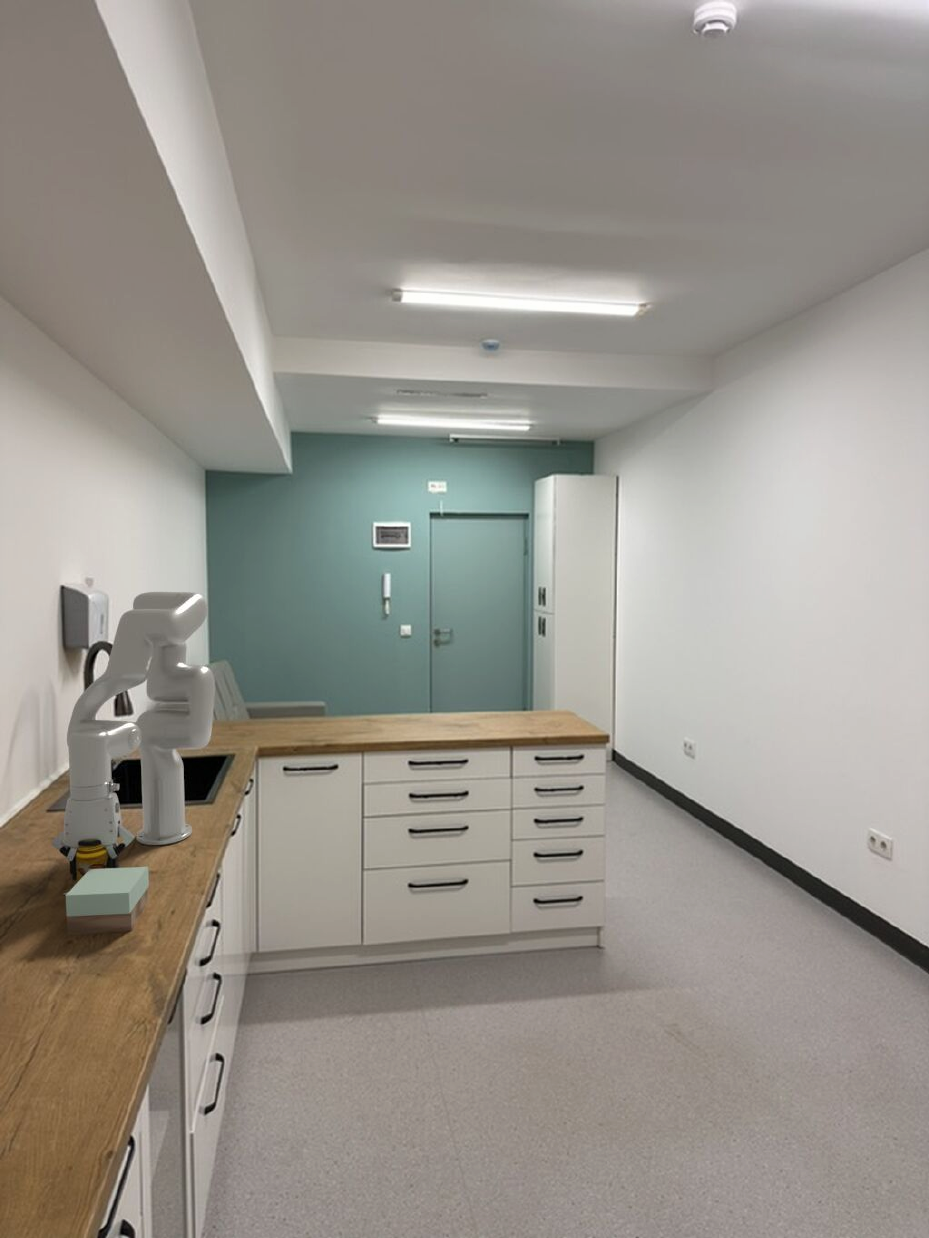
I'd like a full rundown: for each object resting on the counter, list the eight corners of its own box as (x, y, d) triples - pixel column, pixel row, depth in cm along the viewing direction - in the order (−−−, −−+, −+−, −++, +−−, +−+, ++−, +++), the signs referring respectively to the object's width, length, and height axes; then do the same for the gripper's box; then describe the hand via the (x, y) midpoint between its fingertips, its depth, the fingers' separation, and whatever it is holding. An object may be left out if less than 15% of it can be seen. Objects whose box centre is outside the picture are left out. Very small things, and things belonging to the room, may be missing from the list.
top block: (90, 888, 143) (89, 869, 143) (148, 886, 145) (148, 866, 144) (66, 916, 133) (65, 895, 132) (129, 913, 134) (128, 892, 133)
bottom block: (88, 908, 144) (87, 888, 143) (147, 904, 146) (146, 885, 145) (67, 937, 133) (66, 916, 133) (131, 932, 135) (131, 912, 134)
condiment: (88, 904, 144) (86, 846, 143) (62, 894, 148) (60, 837, 147) (121, 890, 151) (119, 833, 150) (95, 880, 155) (93, 826, 154)
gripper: (141, 782, 153) (144, 865, 154) (52, 786, 150) (56, 870, 152) (131, 794, 145) (134, 881, 147) (37, 798, 143) (41, 887, 144)
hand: (94, 875), depth 149 cm, fingers closed on condiment, 6 cm apart
